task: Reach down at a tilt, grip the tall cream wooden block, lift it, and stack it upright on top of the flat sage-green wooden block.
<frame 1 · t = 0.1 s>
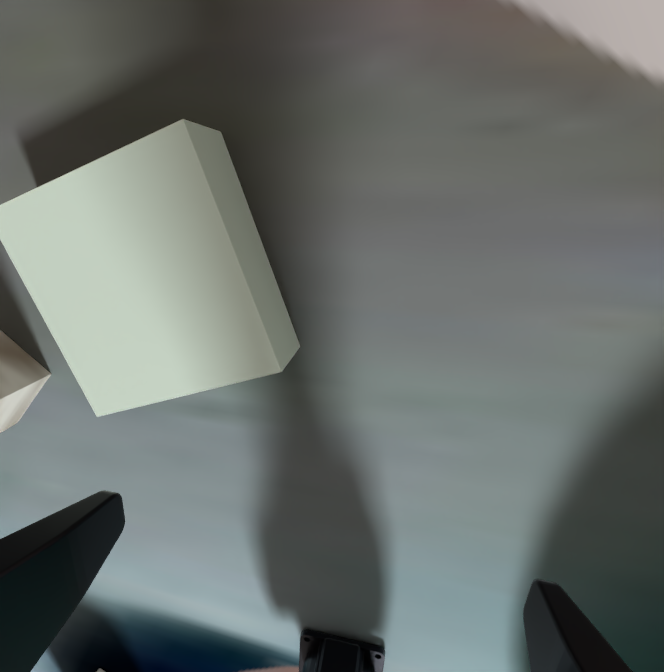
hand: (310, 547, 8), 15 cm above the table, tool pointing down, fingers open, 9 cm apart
sage block: (176, 276, 24), on the table
cream block: (0, 370, 28), on the table
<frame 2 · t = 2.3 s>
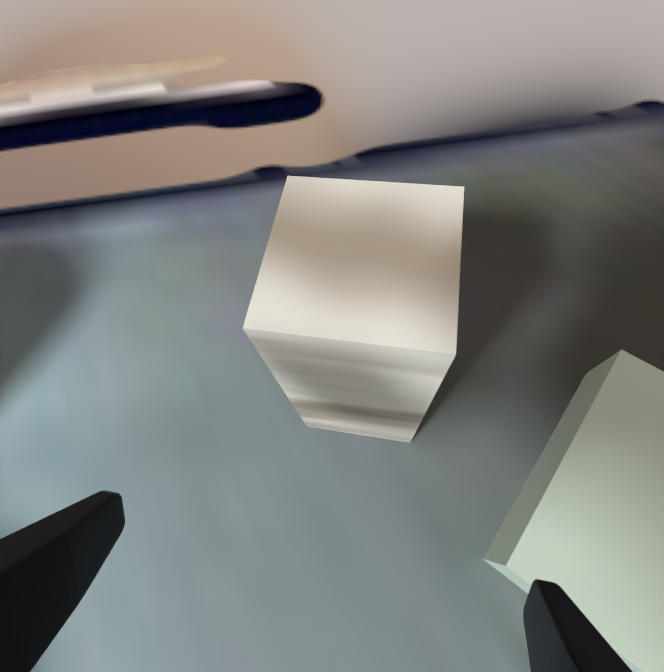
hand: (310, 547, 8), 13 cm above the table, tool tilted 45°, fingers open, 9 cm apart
sage block: (650, 534, 20), on the table
cream block: (364, 384, 24), on the table
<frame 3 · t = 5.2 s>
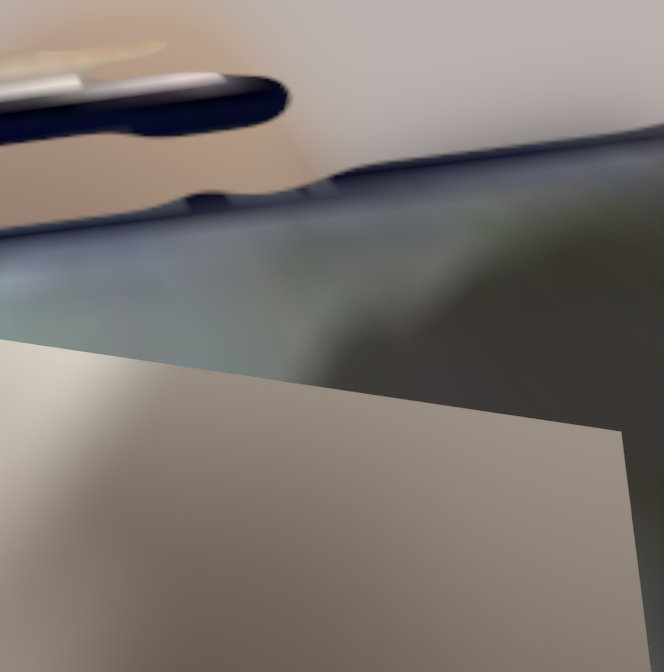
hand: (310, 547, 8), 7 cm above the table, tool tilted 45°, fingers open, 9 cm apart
cream block: (327, 582, 14), on the table, touching gripper
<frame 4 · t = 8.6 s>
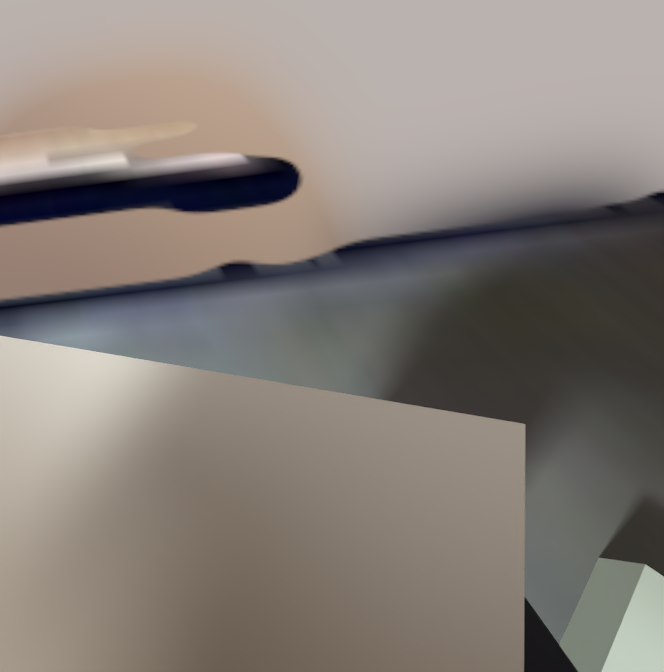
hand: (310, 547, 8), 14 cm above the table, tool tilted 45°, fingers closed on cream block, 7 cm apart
cream block: (322, 586, 14), point 7 cm above the table, touching gripper
when the fingers open (12 cm above the table, at t = 11.4 s): cream block stays where it is, point 4 cm above the table.
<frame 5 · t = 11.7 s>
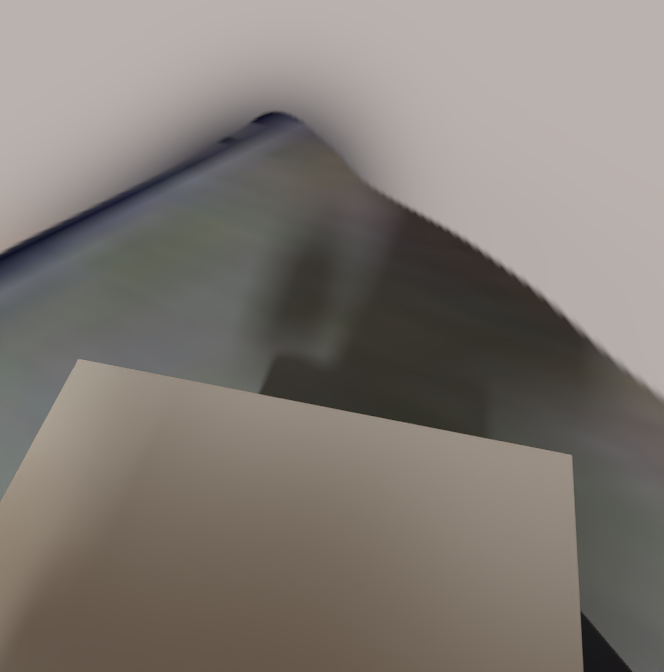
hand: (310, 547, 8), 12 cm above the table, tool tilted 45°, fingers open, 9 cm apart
cream block: (325, 585, 15), point 4 cm above the table
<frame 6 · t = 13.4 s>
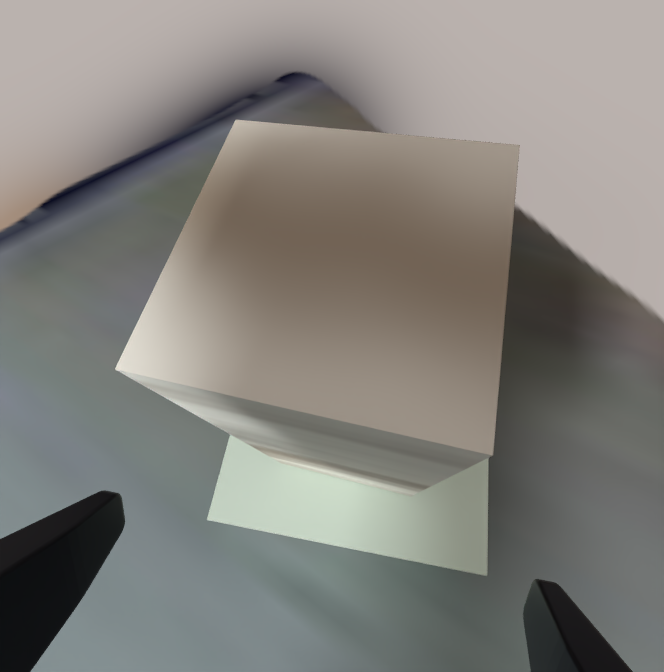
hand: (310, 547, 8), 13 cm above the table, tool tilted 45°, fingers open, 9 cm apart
sage block: (361, 426, 23), on the table
cream block: (358, 414, 19), point 4 cm above the table
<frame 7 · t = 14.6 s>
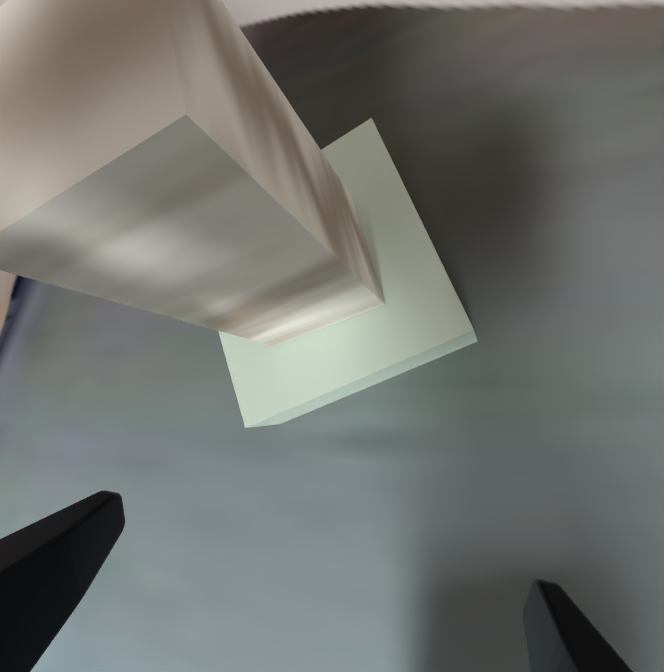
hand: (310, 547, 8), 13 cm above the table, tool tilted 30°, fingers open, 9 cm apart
sage block: (337, 292, 24), on the table, touching cream block
cream block: (312, 271, 20), point 4 cm above the table, touching sage block
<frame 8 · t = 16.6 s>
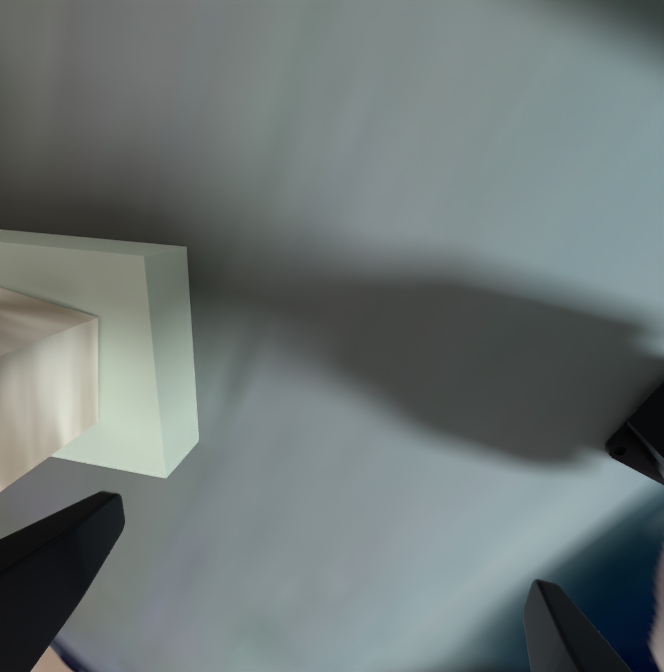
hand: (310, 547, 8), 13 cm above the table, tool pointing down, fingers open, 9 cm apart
sage block: (105, 337, 24), on the table
cream block: (45, 355, 20), point 4 cm above the table
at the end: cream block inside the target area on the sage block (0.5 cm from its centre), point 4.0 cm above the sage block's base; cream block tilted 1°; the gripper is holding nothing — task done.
